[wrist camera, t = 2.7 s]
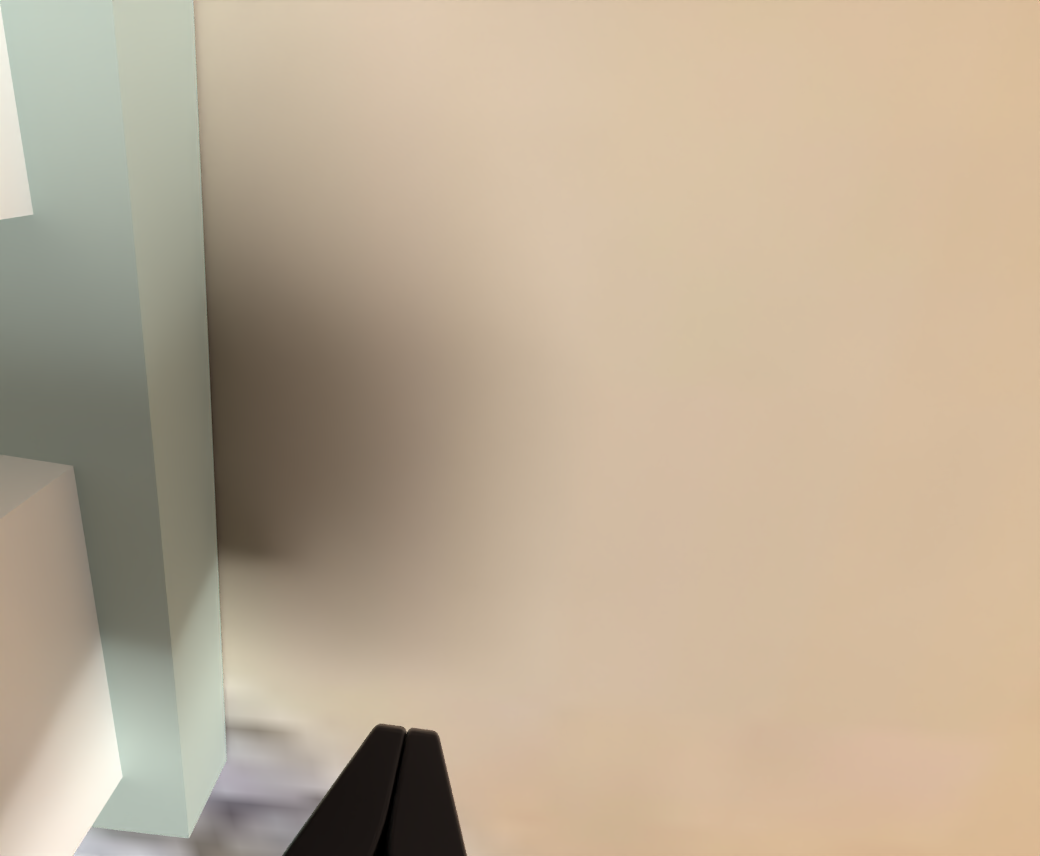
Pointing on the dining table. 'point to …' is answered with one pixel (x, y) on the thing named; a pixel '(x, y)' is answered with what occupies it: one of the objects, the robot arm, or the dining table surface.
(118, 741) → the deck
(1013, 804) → the dining table surface
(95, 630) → the tile
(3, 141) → the tile
